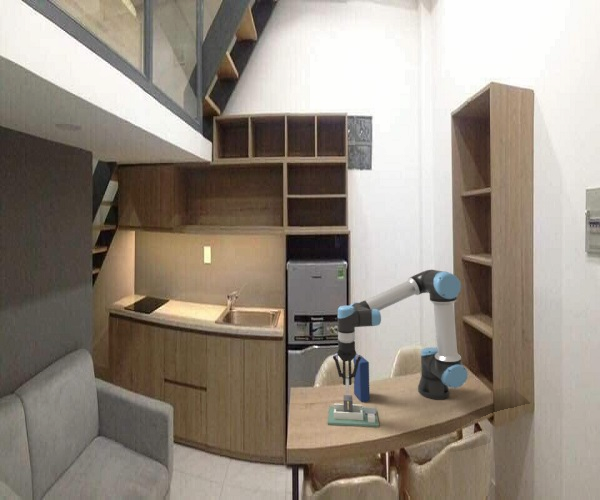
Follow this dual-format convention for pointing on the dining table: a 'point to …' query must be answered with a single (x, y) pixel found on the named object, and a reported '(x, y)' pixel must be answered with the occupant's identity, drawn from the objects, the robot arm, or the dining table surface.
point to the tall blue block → (362, 380)
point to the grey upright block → (348, 403)
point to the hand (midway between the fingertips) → (347, 391)
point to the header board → (353, 416)
